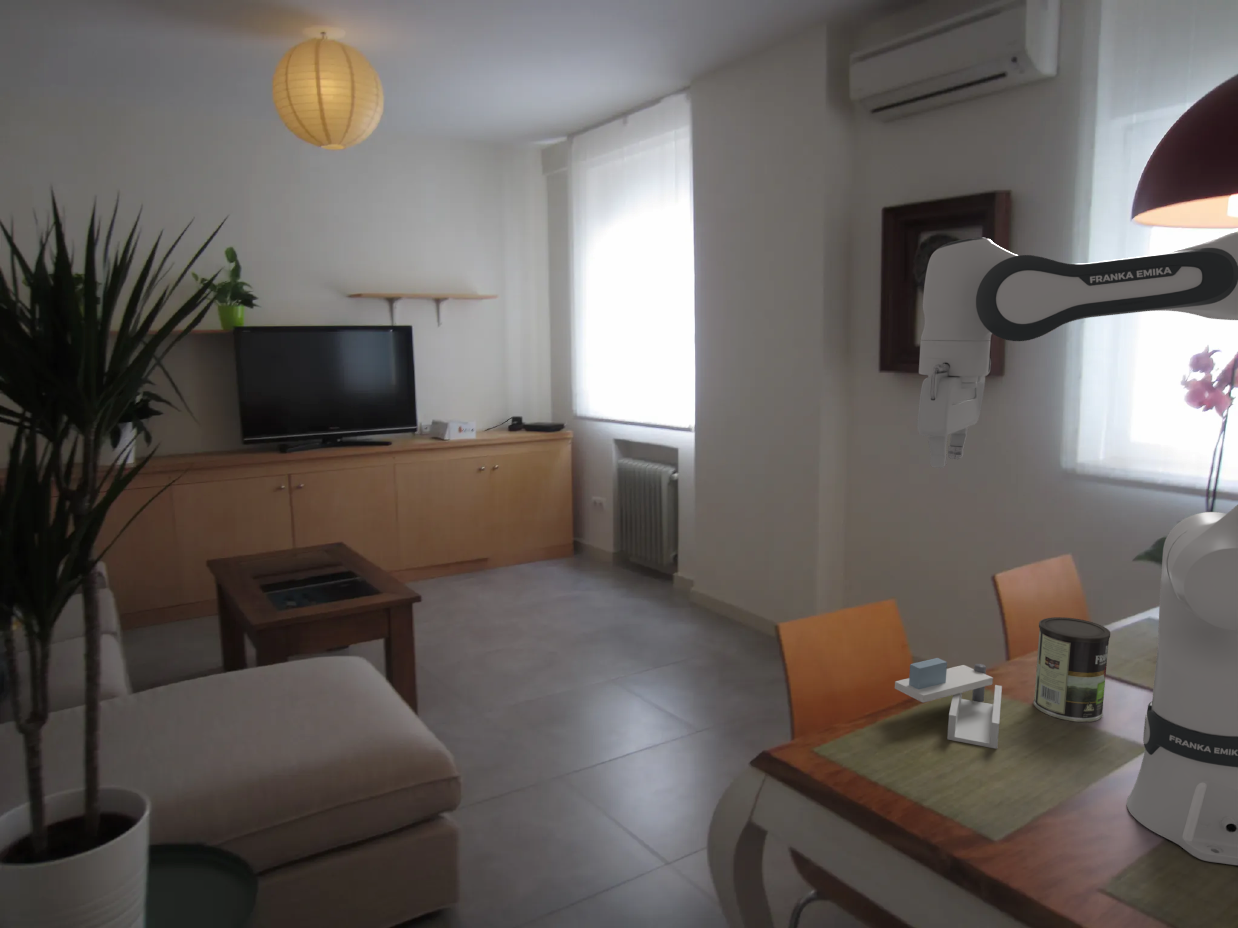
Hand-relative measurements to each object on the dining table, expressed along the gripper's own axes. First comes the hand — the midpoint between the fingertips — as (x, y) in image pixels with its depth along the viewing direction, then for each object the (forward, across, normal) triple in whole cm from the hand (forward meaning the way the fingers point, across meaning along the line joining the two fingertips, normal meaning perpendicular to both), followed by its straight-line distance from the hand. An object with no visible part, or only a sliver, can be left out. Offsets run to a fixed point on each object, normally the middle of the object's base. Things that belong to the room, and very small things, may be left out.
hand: (947, 462), depth 118 cm
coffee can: (+44, +30, -15) cm, 55 cm away
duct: (+44, +15, -3) cm, 46 cm away
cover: (+43, +18, +2) cm, 47 cm away
